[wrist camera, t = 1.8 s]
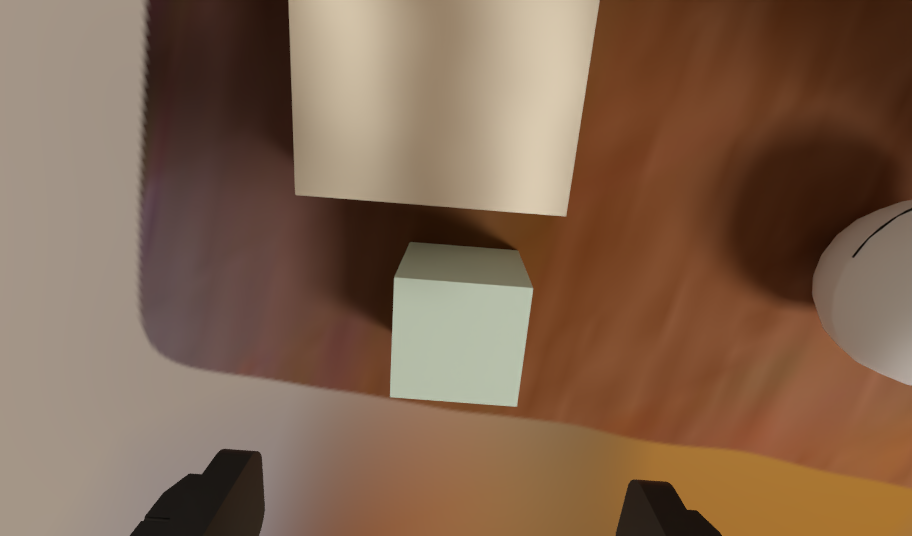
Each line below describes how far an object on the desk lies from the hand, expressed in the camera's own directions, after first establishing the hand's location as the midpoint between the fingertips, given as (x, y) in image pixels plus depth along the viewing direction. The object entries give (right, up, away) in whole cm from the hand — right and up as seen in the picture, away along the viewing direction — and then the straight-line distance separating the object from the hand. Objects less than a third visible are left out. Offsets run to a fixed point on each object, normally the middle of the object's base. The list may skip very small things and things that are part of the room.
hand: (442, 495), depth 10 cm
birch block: (0, +13, +9) cm, 16 cm away
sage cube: (0, +4, +12) cm, 12 cm away
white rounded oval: (+19, +7, +11) cm, 23 cm away
